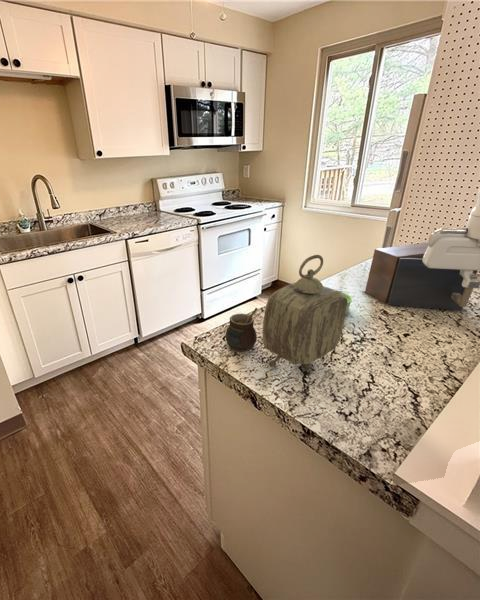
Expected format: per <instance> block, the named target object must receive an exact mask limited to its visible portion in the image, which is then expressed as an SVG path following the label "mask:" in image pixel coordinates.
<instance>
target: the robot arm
mask: <svg viewBox="0 0 480 600" xmlns="http://www.w3.org/2000/svg"><path fill="white" fill-rule="evenodd" d="M466 222H467V223H466V225H465V227H463V228H458V227H457V228H447V227H444V228H440V229H437V230H435V231H433V232H432V233H430V235H429V238H428V241H427V243H428V245H429V246H428V247H427V249H426V252H425V254H424V256H423V259H422V261H423V263H424V264H425V265H426V266H427V267H428V268H436V269H457V270H460V272H461V274H462V277H463V278H464V279H463V282H462V286H463V287H465V288H473V289H480V275H479V276H478V278H477V279H470V277H469V275H468V274H472V273H473V270H478V271H477V272H479V271H480V187H479V189H478V192H477V201H476V204H475V206H474V207H473V208H472V210H471V212H470V214H469V217H468V219H467V221H466Z"/></svg>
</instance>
